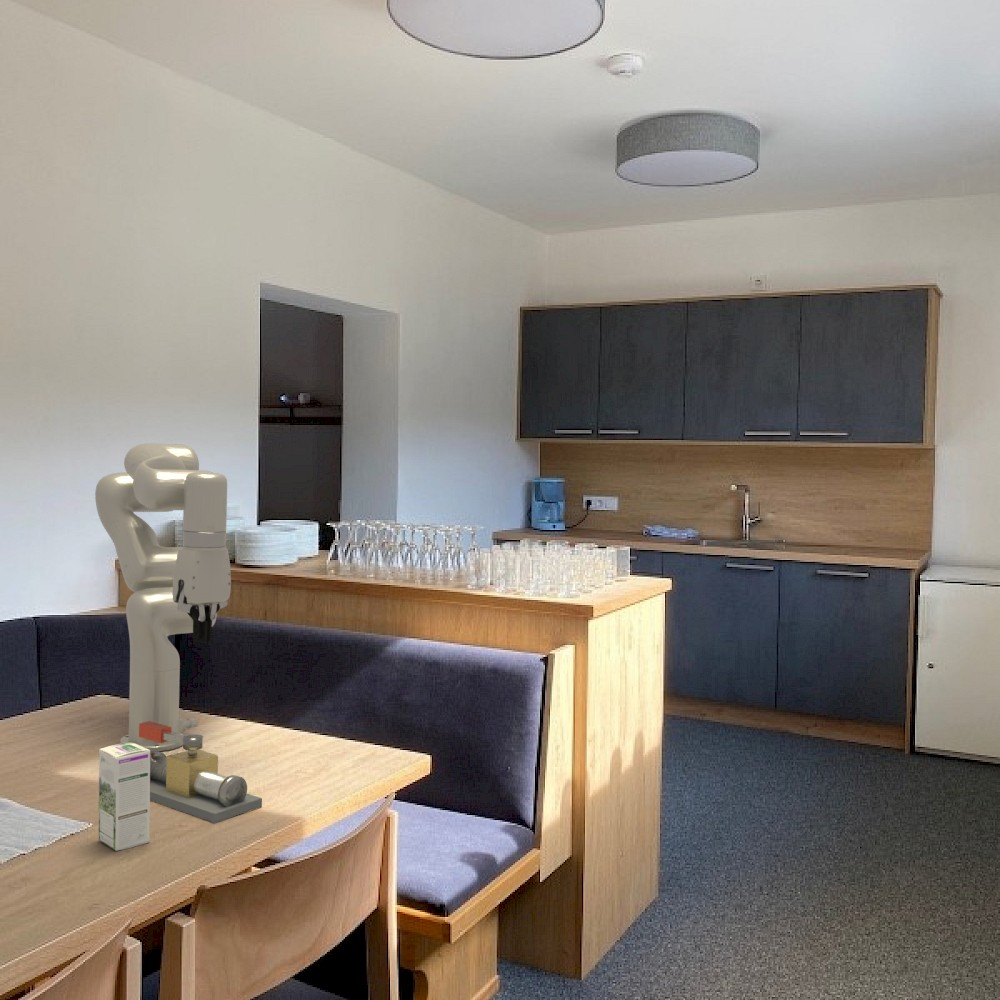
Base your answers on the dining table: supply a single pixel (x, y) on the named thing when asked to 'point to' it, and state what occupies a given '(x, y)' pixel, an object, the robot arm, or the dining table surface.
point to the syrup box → (124, 795)
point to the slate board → (201, 803)
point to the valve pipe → (197, 777)
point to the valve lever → (170, 736)
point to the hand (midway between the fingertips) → (202, 641)
